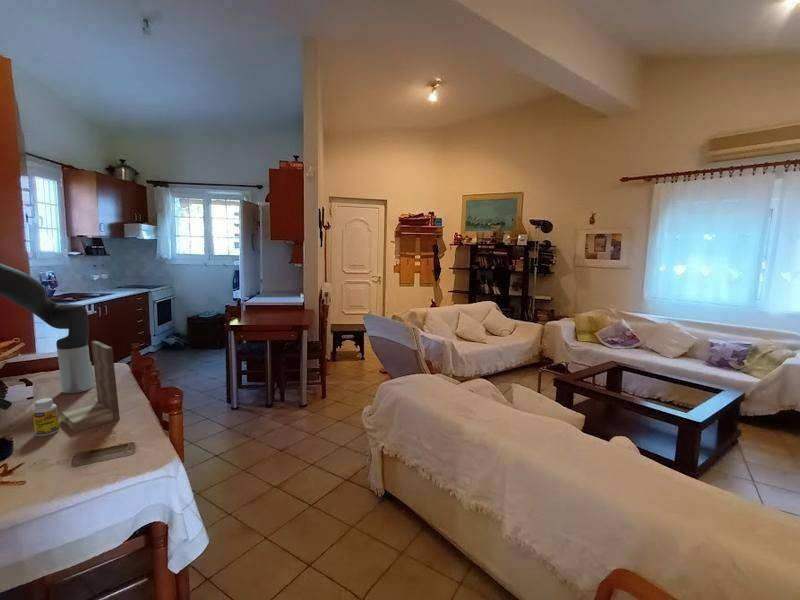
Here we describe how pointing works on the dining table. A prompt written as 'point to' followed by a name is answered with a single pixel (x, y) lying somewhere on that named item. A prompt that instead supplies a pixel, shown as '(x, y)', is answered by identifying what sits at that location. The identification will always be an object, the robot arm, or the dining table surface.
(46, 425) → the supplement bottle
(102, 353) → the wooden bookend
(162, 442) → the dining table surface
